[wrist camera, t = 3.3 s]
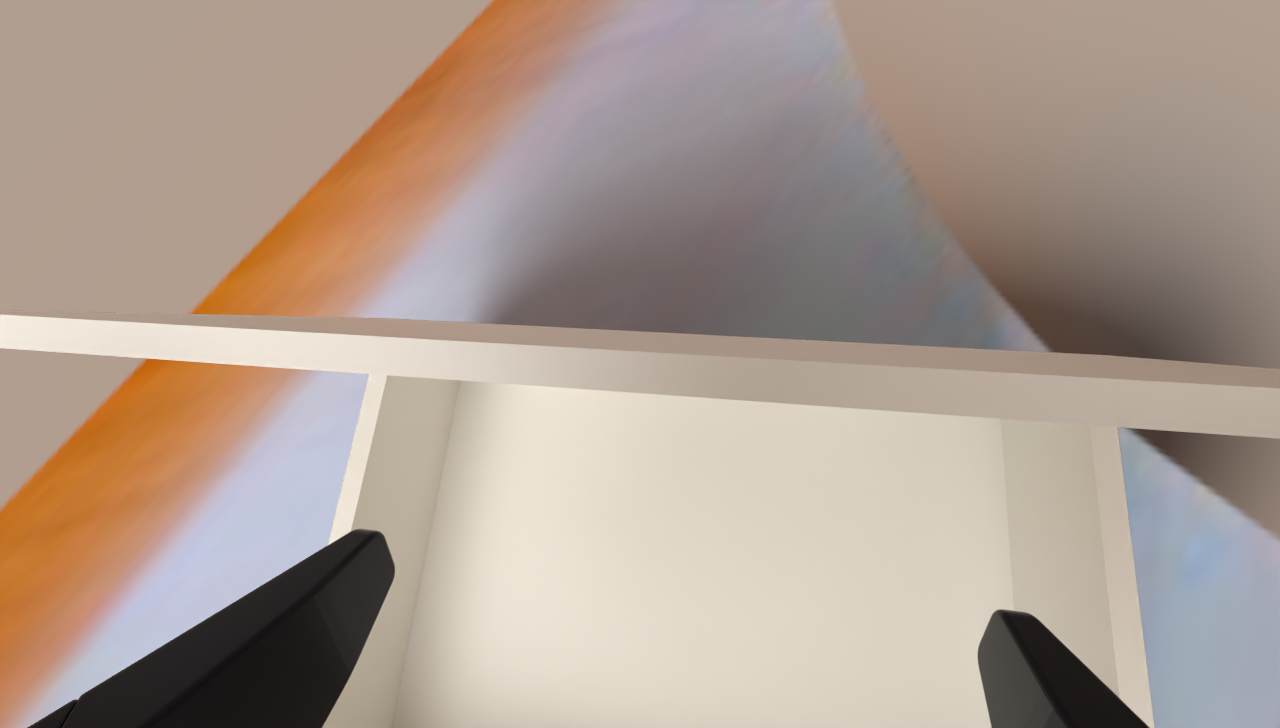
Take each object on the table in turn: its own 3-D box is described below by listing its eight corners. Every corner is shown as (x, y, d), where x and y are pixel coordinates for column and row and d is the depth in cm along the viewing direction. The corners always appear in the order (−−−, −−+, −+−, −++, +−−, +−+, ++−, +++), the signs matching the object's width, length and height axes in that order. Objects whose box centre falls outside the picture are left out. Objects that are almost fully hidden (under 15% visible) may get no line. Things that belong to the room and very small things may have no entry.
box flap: (1108, 372, 13) (2109, 496, 4) (380, 331, 17) (-123, 339, 7) (1110, 355, 13) (2122, 437, 4) (380, 318, 17) (-125, 307, 7)
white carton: (1054, 1001, 14) (1217, 1238, 10) (361, 840, 18) (228, 956, 13) (1010, 398, 19) (1108, 355, 14) (457, 362, 22) (383, 318, 17)
